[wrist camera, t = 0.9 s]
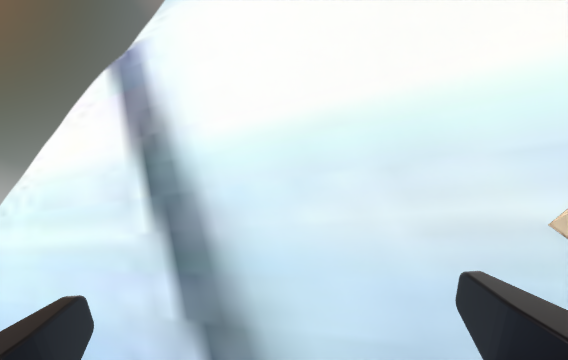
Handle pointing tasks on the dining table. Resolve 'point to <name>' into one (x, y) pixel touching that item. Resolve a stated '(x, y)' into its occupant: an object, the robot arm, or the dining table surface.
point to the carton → (561, 224)
